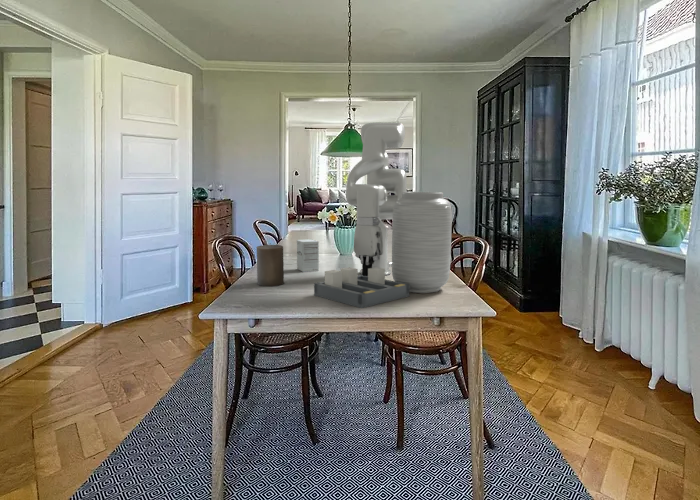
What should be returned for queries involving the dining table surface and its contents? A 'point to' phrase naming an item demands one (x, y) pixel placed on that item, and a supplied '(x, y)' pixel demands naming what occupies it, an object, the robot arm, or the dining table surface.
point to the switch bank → (363, 292)
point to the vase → (421, 241)
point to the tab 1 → (333, 278)
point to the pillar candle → (270, 265)
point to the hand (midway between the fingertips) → (367, 275)
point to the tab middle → (350, 275)
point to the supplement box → (307, 255)
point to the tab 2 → (376, 275)
